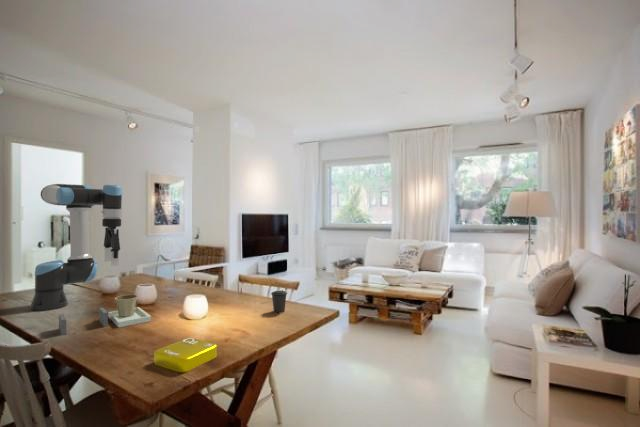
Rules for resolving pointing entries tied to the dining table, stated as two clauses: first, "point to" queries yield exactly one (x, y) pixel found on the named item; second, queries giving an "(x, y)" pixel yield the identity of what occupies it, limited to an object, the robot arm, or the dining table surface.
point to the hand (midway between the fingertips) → (111, 263)
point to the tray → (130, 318)
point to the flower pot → (126, 305)
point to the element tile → (185, 354)
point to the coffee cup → (279, 300)
